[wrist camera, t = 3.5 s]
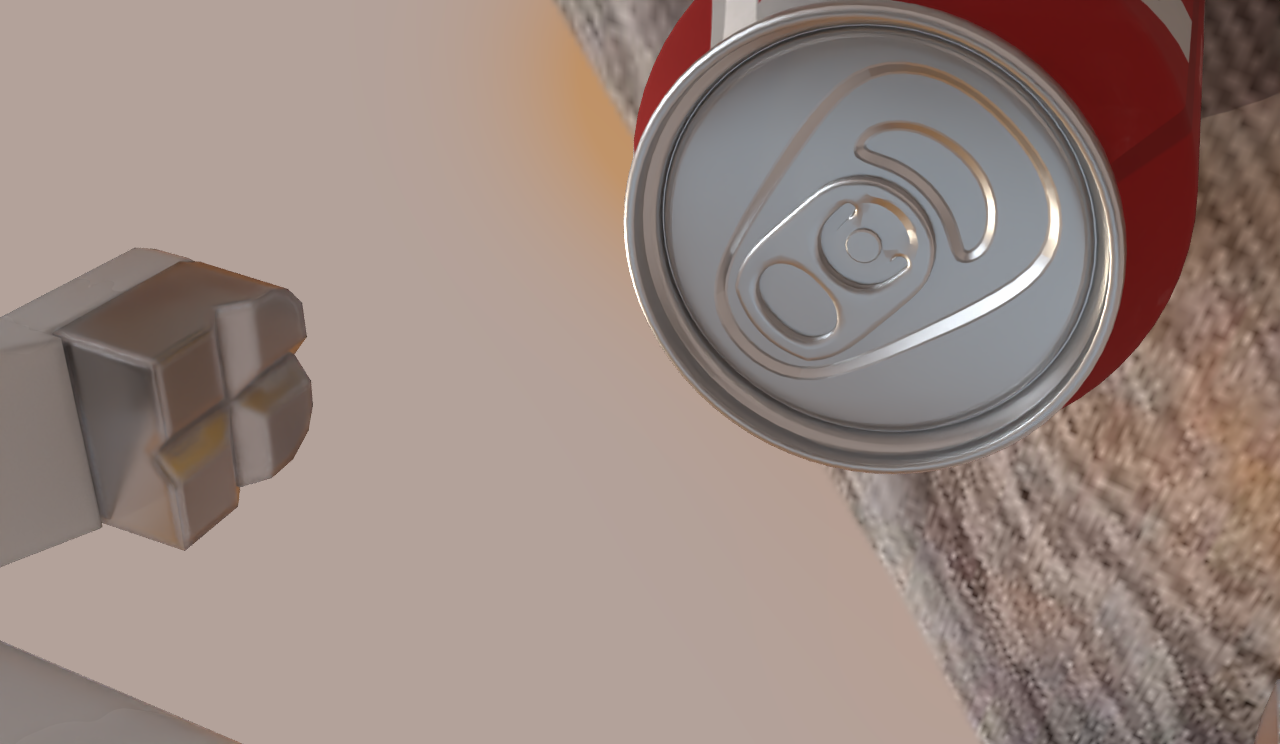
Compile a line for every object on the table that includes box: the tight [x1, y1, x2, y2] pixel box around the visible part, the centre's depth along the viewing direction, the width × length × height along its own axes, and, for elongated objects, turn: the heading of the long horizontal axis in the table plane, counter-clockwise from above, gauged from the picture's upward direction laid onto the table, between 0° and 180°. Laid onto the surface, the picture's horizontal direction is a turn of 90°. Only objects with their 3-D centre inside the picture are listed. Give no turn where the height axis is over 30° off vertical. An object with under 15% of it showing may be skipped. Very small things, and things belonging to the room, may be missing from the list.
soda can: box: [624, 0, 1205, 474], centre depth 18 cm, size 7×7×12 cm
